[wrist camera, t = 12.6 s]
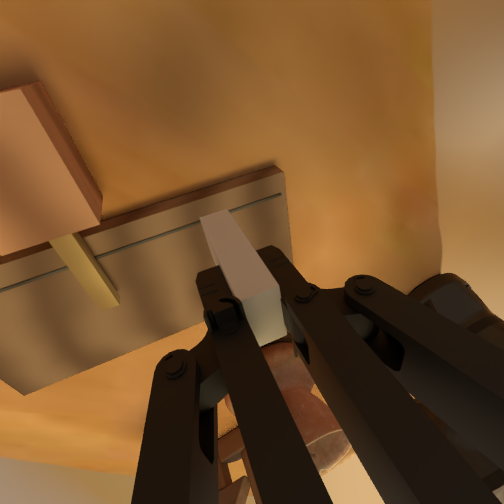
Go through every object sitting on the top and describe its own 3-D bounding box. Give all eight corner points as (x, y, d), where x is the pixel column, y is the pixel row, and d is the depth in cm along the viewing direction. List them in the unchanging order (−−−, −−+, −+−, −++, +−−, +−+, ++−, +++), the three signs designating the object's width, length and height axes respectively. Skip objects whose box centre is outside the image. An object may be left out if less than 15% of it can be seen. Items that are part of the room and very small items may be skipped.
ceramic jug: (319, 359, 50) (376, 444, 39) (251, 407, 50) (288, 506, 39) (277, 306, 38) (341, 405, 27) (189, 369, 39) (217, 492, 28)
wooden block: (197, 451, 52) (226, 596, 38) (248, 419, 52) (295, 551, 38) (206, 455, 54) (237, 593, 40) (255, 425, 55) (302, 551, 41)
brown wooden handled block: (41, 80, 18) (20, 88, 14) (142, 269, 28) (147, 304, 24) (-69, 104, 17) (-123, 120, 13) (78, 292, 27) (72, 333, 23)
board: (275, 165, 27) (284, 172, 25) (288, 274, 35) (295, 284, 34) (-96, 285, 21) (-112, 302, 20) (28, 379, 30) (23, 396, 28)
